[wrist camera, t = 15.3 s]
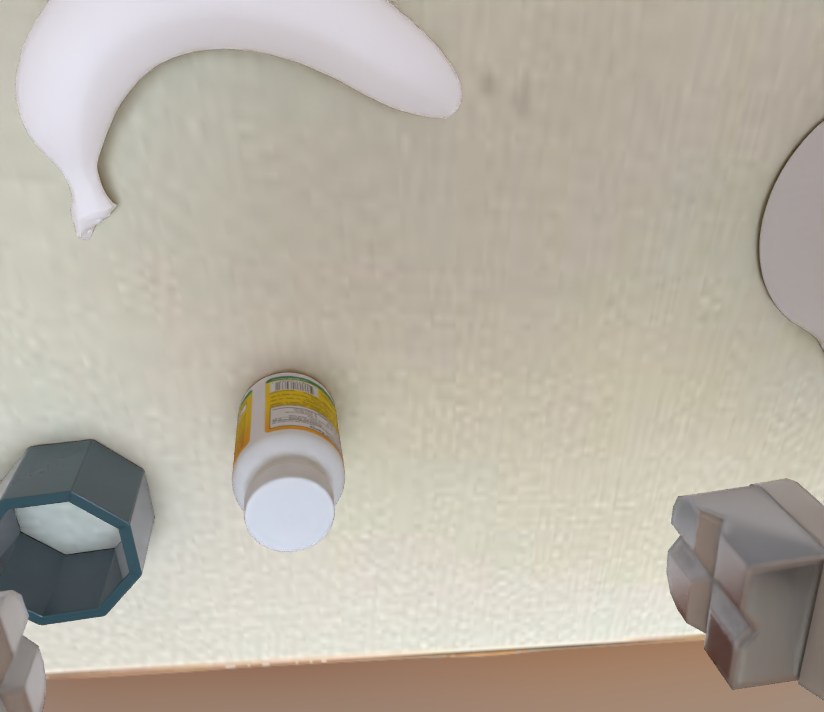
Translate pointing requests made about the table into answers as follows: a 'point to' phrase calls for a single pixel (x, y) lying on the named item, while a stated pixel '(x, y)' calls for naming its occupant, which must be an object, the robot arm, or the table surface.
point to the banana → (195, 31)
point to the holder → (93, 492)
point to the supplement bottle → (288, 461)
